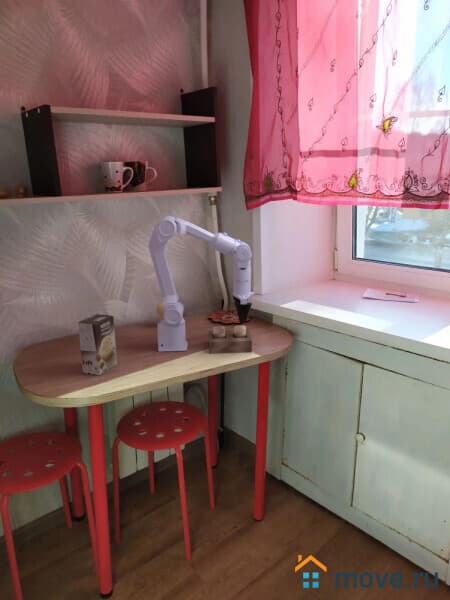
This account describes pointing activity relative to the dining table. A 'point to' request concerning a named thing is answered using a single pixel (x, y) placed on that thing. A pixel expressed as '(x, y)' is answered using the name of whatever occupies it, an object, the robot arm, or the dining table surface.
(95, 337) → the coffee box
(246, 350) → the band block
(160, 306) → the light bulb
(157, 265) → the robot arm
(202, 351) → the dining table surface
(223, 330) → the left peg
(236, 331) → the right peg
